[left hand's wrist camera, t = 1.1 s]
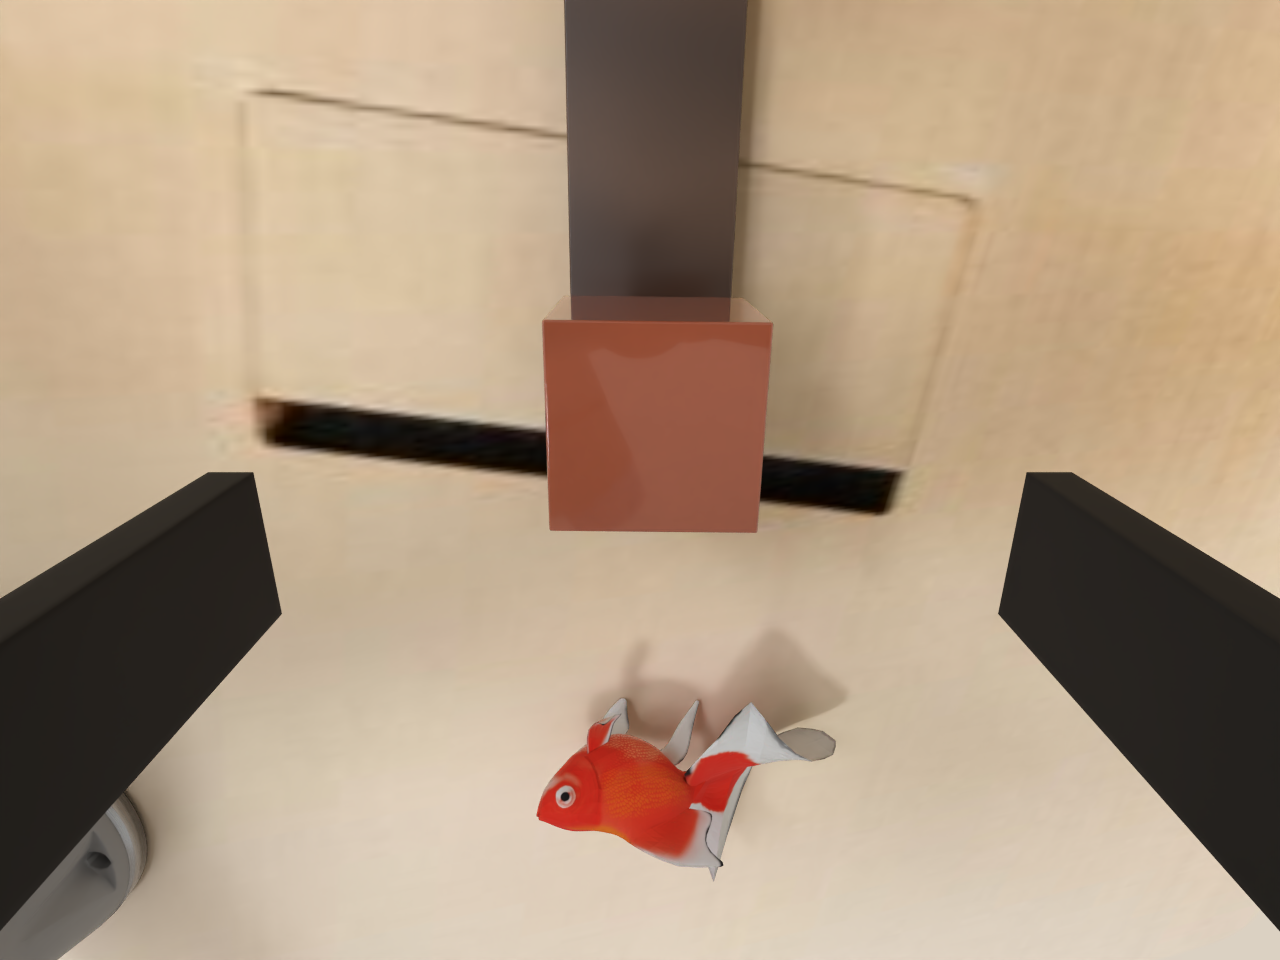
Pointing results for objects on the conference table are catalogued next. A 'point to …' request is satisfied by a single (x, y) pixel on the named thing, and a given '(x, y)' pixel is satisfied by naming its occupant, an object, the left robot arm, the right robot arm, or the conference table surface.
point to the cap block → (655, 413)
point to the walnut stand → (653, 145)
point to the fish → (669, 783)
